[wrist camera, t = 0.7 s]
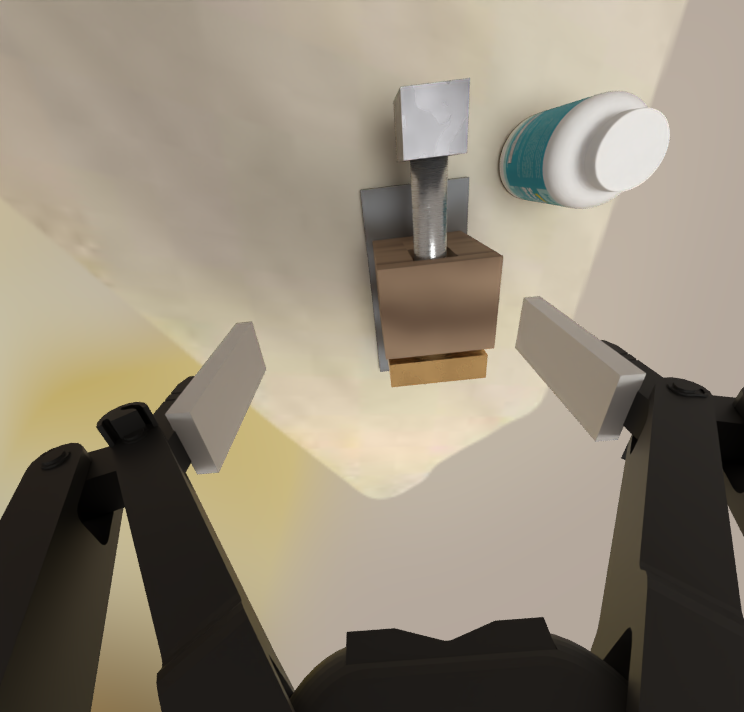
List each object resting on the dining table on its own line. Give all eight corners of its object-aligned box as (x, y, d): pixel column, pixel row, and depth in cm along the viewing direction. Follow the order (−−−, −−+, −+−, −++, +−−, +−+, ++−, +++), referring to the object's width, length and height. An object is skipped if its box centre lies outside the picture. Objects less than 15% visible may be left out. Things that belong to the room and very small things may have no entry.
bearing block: (360, 189, 33) (360, 199, 22) (466, 177, 33) (521, 180, 22) (379, 367, 44) (386, 434, 33) (459, 359, 44) (493, 424, 33)
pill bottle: (492, 201, 34) (560, 217, 23) (502, 116, 31) (589, 82, 19) (562, 196, 34) (666, 210, 23) (580, 110, 31) (716, 73, 19)
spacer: (383, 324, 37) (389, 365, 30) (460, 316, 37) (487, 354, 29) (385, 343, 39) (391, 387, 31) (460, 335, 38) (485, 377, 31)
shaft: (393, 101, 25) (400, 86, 20) (450, 94, 24) (470, 77, 20) (408, 358, 36) (414, 383, 32) (447, 354, 36) (458, 378, 32)
